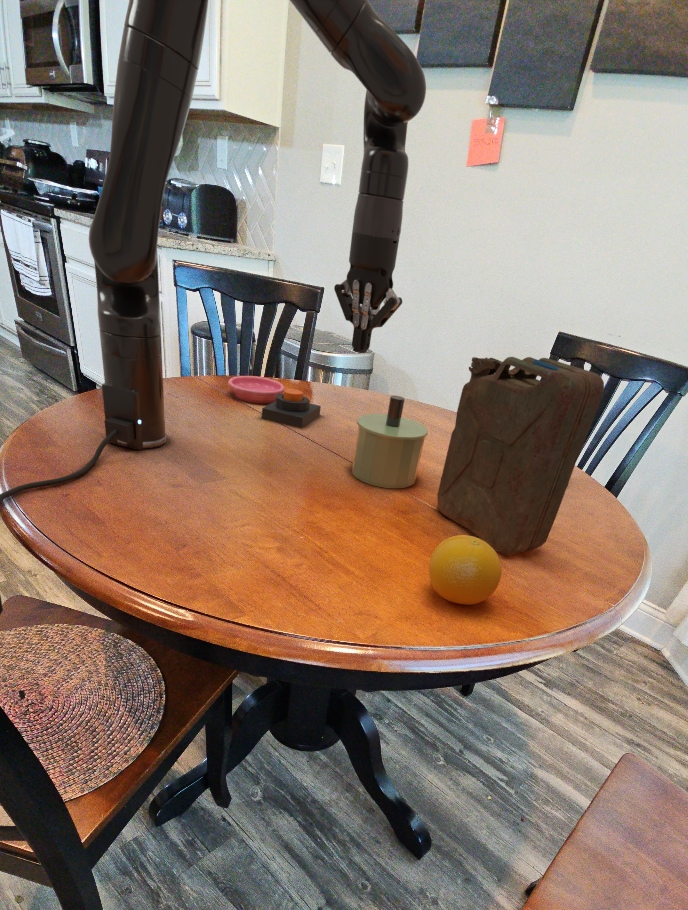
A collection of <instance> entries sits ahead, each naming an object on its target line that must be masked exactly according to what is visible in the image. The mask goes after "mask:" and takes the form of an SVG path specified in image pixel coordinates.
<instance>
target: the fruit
mask: <svg viewBox="0 0 688 910" xmlns="http://www.w3.org/2000/svg"><path fill="white" fill-rule="evenodd" d="M428 562H429V563H428V573H429V581H430V585H431V586H432V588H433V590H434V591H435V592H436V593H437V594H438V595H439V596H440V597H441V598H443V599H444V600H446V601H449V602H451V603H455V604H460V605H465V606H466V605H467V606H468V605H475V604H479V603H481V602H483V601H485V600H487V599H488V598H489V597H491V596H492V595H493V594H494V593H495V591H496V590H497V588H498V586H499V584H500V582H501V578H502V563H501V559H500V557H499V555H498V553H497V551H496V550H495V549H493V548H492V547H491V546H490V545H488V544H487V543H486V542H484V541H483V540H482V539H480V538H479V537H476V536H472V535H467V534H466V535H465V534H458V535H453V536H450V537H448V538H445V539H444V540H443V541H441V542H440V543H439V544H438V545H437V546H436V547H435V548H434V550H433V551H432V554H431V555H430V558H429V561H428Z"/></svg>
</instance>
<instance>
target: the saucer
mask: <svg viewBox="0 0 688 910" xmlns="http://www.w3.org/2000/svg"><path fill="white" fill-rule="evenodd" d="M228 387H229V389H230V390H231V392H232V393H233V394H234V396H235V397H236V398H237V399H238V400H241V401H243V402H247V403H253V404H264V405H265V404H271V403H273V402H275V401H276V395H278V394H283V393H284V390H285V386H284V384H282V383H281V382H279V381H277V380H275V379H271V378H268V377H262V376H256V375H255V376H254V375H238V376H233V377H231V378H230V379H229V380H228Z"/></svg>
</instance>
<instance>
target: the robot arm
mask: <svg viewBox="0 0 688 910" xmlns="http://www.w3.org/2000/svg"><path fill="white" fill-rule="evenodd" d="M289 1H290V3H291V4H292V5H293V7H294V8H295V10H296V11H297V12H298V13H299V14H300V16H301V17H302V18H303V19H304V21H305V23H306V24H307V25H308V27H309V28H310V30H311V31H312V32H313V33H314V35H315V36H316V37H317V39H318V40H319V41H320V42H321V44H322V45H323V46H324V48H325V49H326V51H328V53H329V54H330V56H331V57H332V58H333V60H334V61H335V62H336V63H337V64H338V65H339V66H340V67H342V69H345V70H347V71H349V72H351V73H352V74H353V75H354V76H355V77H356V78H357V80H358V81H359V82H360V83H361V85H362V86H363V87H364V88H365V89H366V91H365V97H364V107H363V156H362V157H363V158H362V163H361V167H360V175H359V184H358V193H357V199H356V203H355V208H354V214H353V223H352V229H351V230H352V231H351V240H350V248H349V257H348V262H349V264H350V265H349V270H348V272H347V274H346V279H345V280H344V281H342V282H341V283H340V284H339V283H336V284H335V285H334V287H333V289H334V292H335V296H336V298H337V301H338V303H339V306H340V308H341V311H342V314H343V316H344V319H345V321H346V322H350V323H351V325H352V326H353V332H352V341H351V348H352V350H353V352H354V353H358V354H366V353H367V351H369V349H370V347H371V341H372V333H373V331H374V329H377V328H382V327H383V326H385V324H386V323H387V322H388V321H389V320H390V318H391V317H392V316H393V315H394V314H395V313H396V311H397V310H398V309H399V308H400V307H401V306H402V304H403V299H402V297H400V296H397V294H396V293H395V291H394V290H393V287H394V281H393V274H394V271H395V268H396V262H397V255H398V250H399V243H400V237H401V232H402V224H403V216H404V215H403V213H404V212H403V211H404V200H405V194H406V189H407V181H408V175H409V163H410V162H409V157H408V154H407V152H406V142H407V133H408V124H409V122H410V121H411V120H413V119H414V118H415V117H416V116H417V115H418V114H419V113H420V111H422V110H421V109H422V108H423V106H424V103H425V99H426V94H427V82H426V77H425V72H424V70H423V68H422V66H421V64H420V62H419V60H418V59H417V57H416V55H415V53H414V52H413V51H412V50H411V49H410V47H409V46H408V44H407V43H405V41H404V40H403V39H402V38H401V37H400V36H399V35H398V34H397V32H395V31H394V30H393V28H391V27H390V25H388V23H387V22H385V21H384V20H383V19H382V18H381V17H380V16H379V14H378V13H377V12H376V10H375V9H374V7H373V5H372V3H370V1H369V0H289ZM208 9H209V0H129V1H128V5H127V10H126V14H125V19H124V24H123V28H122V29H123V30H122V36H121V43H120V48H119V53H118V61H117V68H116V76H115V84H114V85H115V86H114V92H113V93H114V95H113V106H112V118H111V119H112V120H111V135H110V137H111V138H110V147H109V149H110V151H109V157H108V163H107V167H106V171H105V172H106V173H105V176H104V179H103V184H102V187H101V191H100V195H99V199H98V202H97V206H96V209H95V212H94V216H93V219H92V221H91V224H90V227H89V230H88V245H89V250H90V253H91V256H92V258H93V261H94V273H95V283H96V298H97V301H96V302H97V319H98V331H99V338H100V348H101V349H100V350H101V359H102V368H103V369H102V370H103V379H104V383H102V384H101V393H102V394H101V395H102V402H103V412H104V430H105V438H104V439H103V440H102V441H101V442H100V444H99V445H98V447H97V448H96V451H95V453H94V455H93V456H92V458H91V459H90V460H89V461H88V463H86V465H85V466H83V467H82V468H80V469H79V470H77V471H75V472H72V473H70V474H67V475H63V476H61V477H56V478H52V479H46V480H39V481H35V482H30V483H29V482H28V483H24V484H21V485H18V486H15V487H13V488H11V489H9V490H6V491H4V492H2V493H0V506H1V505H2V503H3V501H4V500H5V499H6V498H9V497H12V496H14V495H16V494H18V493H20V492H23V491H27V490H31V489H36V488H41V487H48V486H53V485H58V484H62V483H66V482H69V481H72V480H74V479H76V478H78V477H81V476H83V475H84V474H86V473H87V472H89V471H90V470H91V469H92V468H93V466H94V465H95V464H96V463H97V462H98V460H99V459H100V456H101V454H102V452H103V450H104V449H105V448H106V446H107V445H108V444H109V443H110V444H113V445H118V446H121V447H124V448H129V449H133V450H137V451H141V450H143V449H150V448H151V449H152V448H157V447H160V446H162V445H164V444H166V442H167V432H166V416H165V395H164V394H165V393H164V392H165V391H164V377H163V376H164V371H163V350H162V349H163V348H162V327H161V325H162V324H161V323H162V322H161V302H160V280H159V279H160V278H159V260H158V259H159V257H158V242H159V231H160V223H161V213H162V207H163V202H164V201H163V200H164V196H165V195H164V194H165V189H166V185H167V181H168V177H169V174H170V171H171V168H172V166H173V162H174V160H175V157H176V155H177V151H178V148H179V146H180V143H181V139H182V137H183V134H184V129H185V126H186V123H187V119H188V116H189V112H190V108H191V104H192V100H193V96H194V91H195V87H196V82H197V77H198V71H199V68H200V65H201V57H202V52H203V45H204V39H205V33H206V25H207V17H208ZM382 303H383V304H382ZM381 304H382V306H381ZM2 601H3V600H2V596H1V595H0V616H2V615H1V614H2V613H3V611H4V607H3V602H2ZM17 691H18V695H19V698H21V699H23V698H25V696H26V693H25V690H23V689H22V690H20V689H19V690H17ZM21 699H20V700H21Z"/></svg>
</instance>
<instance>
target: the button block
mask: <svg viewBox="0 0 688 910" xmlns="http://www.w3.org/2000/svg"><path fill="white" fill-rule="evenodd" d="M283 397H284V392H283V394H278V395H276V401H275V402H272V403H268V404H267V405H265V406H263V407H262V408H261V420H266V421H270V422H273V423H278V424H282V425H287V426H289V427H294V428H299V429H303V428H305V427H306V426H307V425H309V424H310V423H312V422H313V421H315V420H316V419H318V418H319V417H320V416H321V407H322V406H321V405H319V404H314V403H311V400H310V399H309V397H306V396H304V395H303V399H302V401H298V402H297V401H289V400H286V399H283Z"/></svg>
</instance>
